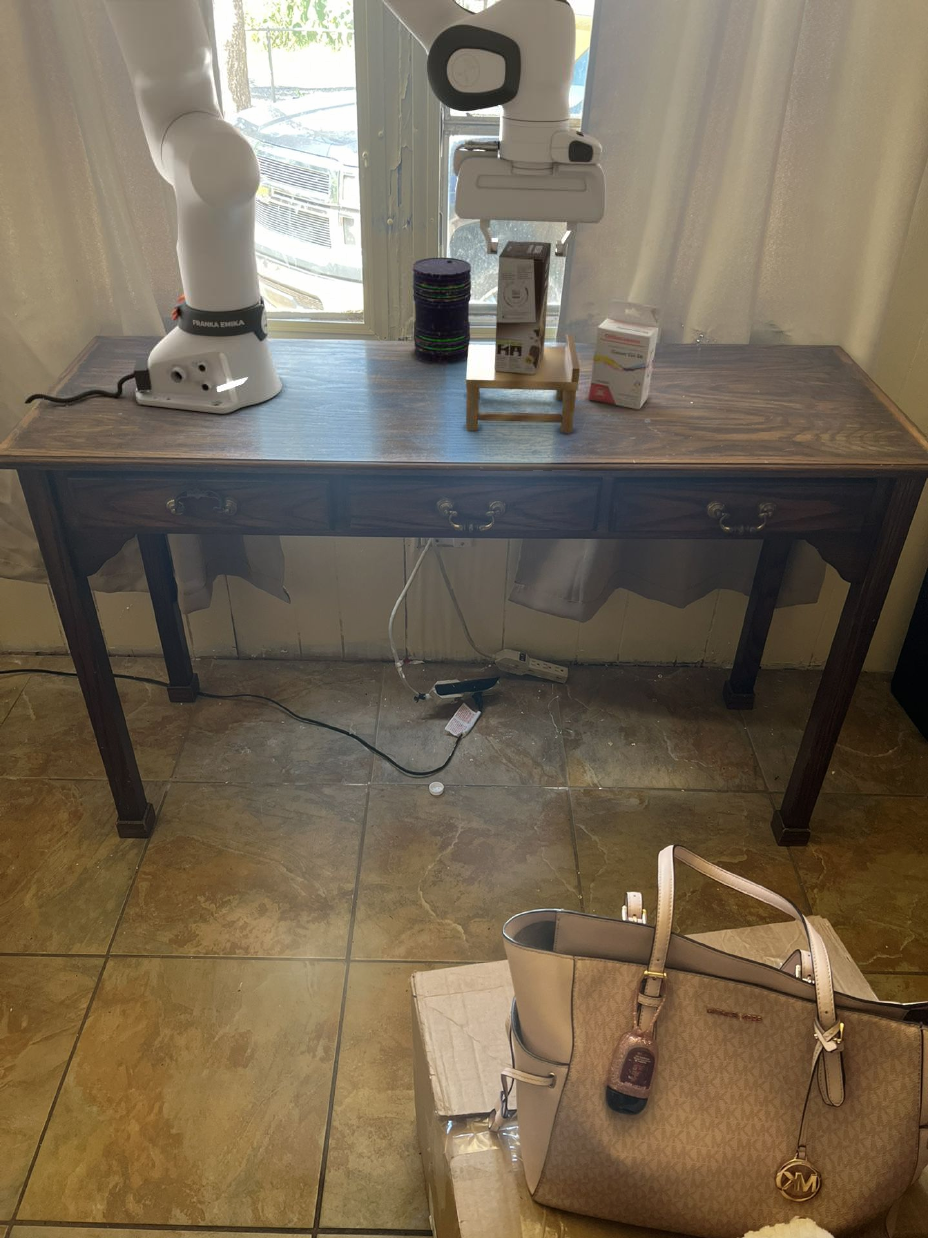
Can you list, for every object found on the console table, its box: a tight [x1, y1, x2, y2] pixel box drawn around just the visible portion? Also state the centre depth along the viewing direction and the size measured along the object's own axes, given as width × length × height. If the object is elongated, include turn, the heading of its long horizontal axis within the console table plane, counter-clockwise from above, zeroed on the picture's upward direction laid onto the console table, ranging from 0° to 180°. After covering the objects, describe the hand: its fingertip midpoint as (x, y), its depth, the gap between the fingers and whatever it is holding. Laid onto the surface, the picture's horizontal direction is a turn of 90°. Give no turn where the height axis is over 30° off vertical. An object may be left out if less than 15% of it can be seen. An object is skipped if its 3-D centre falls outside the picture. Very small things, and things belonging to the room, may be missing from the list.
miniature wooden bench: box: [465, 333, 581, 434], centre depth 133 cm, size 16×14×10 cm
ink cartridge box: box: [588, 298, 661, 410], centre depth 137 cm, size 9×5×15 cm, turn 65°
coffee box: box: [494, 240, 552, 375], centre depth 127 cm, size 9×6×16 cm
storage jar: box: [412, 256, 472, 365], centre depth 151 cm, size 10×10×15 cm
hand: (526, 254), depth 122 cm, fingers open, 8 cm apart
